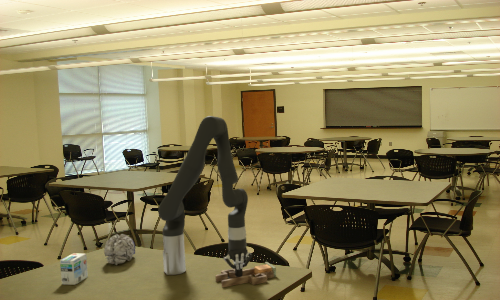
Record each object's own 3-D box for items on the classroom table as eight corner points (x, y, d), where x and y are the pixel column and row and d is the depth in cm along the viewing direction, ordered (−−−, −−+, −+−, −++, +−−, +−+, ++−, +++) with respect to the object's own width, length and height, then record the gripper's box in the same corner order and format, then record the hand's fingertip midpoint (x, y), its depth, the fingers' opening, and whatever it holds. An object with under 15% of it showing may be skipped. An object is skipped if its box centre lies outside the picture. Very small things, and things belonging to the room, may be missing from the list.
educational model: (137, 269, 235) (140, 239, 240) (127, 263, 216) (130, 230, 222) (110, 269, 235) (113, 239, 241) (97, 263, 217) (101, 230, 222)
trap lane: (225, 290, 185) (225, 280, 184) (212, 278, 199) (212, 269, 199) (280, 279, 194) (279, 269, 194) (263, 268, 209) (263, 259, 208)
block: (259, 279, 196) (259, 270, 196) (254, 275, 200) (254, 266, 200) (272, 276, 198) (271, 267, 198) (267, 273, 203) (266, 264, 203)
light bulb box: (75, 285, 199) (73, 260, 198) (61, 284, 200) (59, 260, 199) (88, 276, 209) (86, 253, 208) (75, 276, 211) (73, 252, 210)
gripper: (248, 232, 200) (249, 271, 202) (219, 237, 195) (221, 277, 196) (255, 236, 193) (257, 277, 195) (225, 241, 188) (227, 283, 189)
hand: (238, 277), depth 195 cm, fingers closed
